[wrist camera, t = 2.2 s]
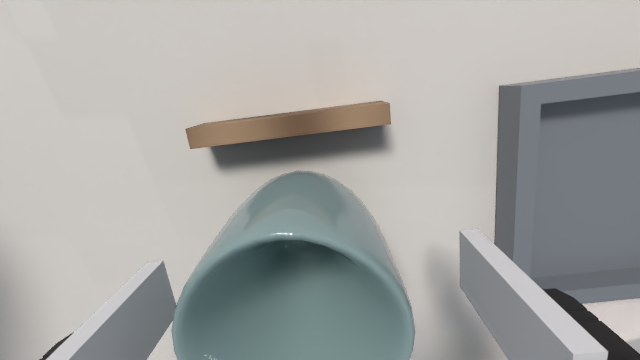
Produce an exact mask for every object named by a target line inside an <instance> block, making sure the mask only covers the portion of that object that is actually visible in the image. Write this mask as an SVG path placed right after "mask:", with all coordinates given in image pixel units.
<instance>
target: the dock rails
mask: <svg viewBox="0 0 640 360" xmlns="http://www.w3.org/2000/svg"><path fill="white" fill-rule="evenodd" d="M388 124H391V118H390V103H387V102H383V101H376V102H368V103H360V104H352V105H345V106H337V107H329V108H321V109H313V110H305V111H297V112H289V113H282V114H274V115H266V116H258V117H250V118H242V119H234V120H226V121H219V122H211V123H203V124H200V125H197V126H194V127H190V128H187V129H186V133H187V137H188V142H189V146H190V149H195V148H203V147H211V146H219V145H227V144H235V143H243V142H251V141H259V140H267V139H275V138H283V137H291V136H299V135H307V134H315V133H323V132H332V131H340V130H348V129H356V128H364V127H372V126H380V125H388Z"/></svg>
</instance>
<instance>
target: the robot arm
mask: <svg viewBox="0 0 640 360" xmlns="http://www.w3.org/2000/svg"><path fill="white" fill-rule="evenodd" d="M460 287H461V289H462V290H463V292H464V293H465V295H466V296H467V298H468V299H469V301H470V302H471V304H472V305H473V307H474V308H475V310H476V311H477V313H478V314H479V316H480V317H481V319H482V320H483V322H484V324H485V325H486V327H487V328H488V330H489V331H490V333H491V334H492V336H493V337H494V339H495V340H496V342H497V343H498V345H499V346H500V348H501V349H502V351H503V352H504V354H505V355H506V357H507V358H508V360H640V354H639V353H638V352H637V351H635V350H634V349H633V348H632V347H631V346H630V345H628V344H627V343H626V342H625V341H624V340H623V339H621V338H620V337H619V336H618V335H617V334H616V333H614V332H613V331H612V330H611V329H610V328H609V327H607V326H606V325H605V324H604V323H603V322H602V321H599V320H598V318H597V317H596V316H595V315H593V314H592V313H591V312H590V311H587V309H586V308H585V307H584V306H583V305H582V304H581V303H579V302H578V301H577V300H576V299H575V298H574V297H572V296H570V295H568V294H566V293H564V292H562V291H560V290H558V289H556V288H551V289H541V288H540V287H539V286H538V285H537V284H536V283H535V282H534V281H533V280H532V279H531V278H530V277H529V276H527V275H526V274H525V273H524V272H523V271H522V270H521V269H520V268H519V267H518V266H517V265H516V264H515V263H514V262H513V261H512V260H511V259H509V258H508V257H507V256H506V255H505V254H504V253H503V252H502V251H501V250H500V249H499V248H498V247H497V246H496V245H495V244H494V243H492V242H491V241H490V240H489V239H488V238H487V237H486V236H485V235H484V234H483V233H482V232H481V231H480V230H479V229H471V230H461V231H460ZM175 309H176V303H175V300H174V296H173V293H172V289H171V286H170V282H169V279H168V275H167V272H166V268H165V265H164V261H154V262H147V263H146V264H145V265H144V266H143V267H141V268H140V269H139V270H138V271H137V272H136V273H135V274H134V275H133V276H132V277H131V278H130V279H129V280H128V281H127V282H126V283H125V284H124V285H123V286H122V287H121V288H120V289H119V290H118V291H117V292H115V293H114V294H113V295H112V296H111V297H110V298H109V299H108V300H107V301H106V302H105V303H104V304H103V305H102V306H101V307H100V308H99V309H98V310H97V311H96V312H95V313H94V314H93V315H92V316H91V317H89V318H88V319H87V320H86V321H85V322H84V323H83V324H82V325H81V326H80V327H79V328H78V329H77V330H76V331H75V332H73V333H72V334H70V335H69V336H67V337H66V338H64V339H63V340H61V341H60V342H58V343H57V344H55V345H54V346H53V347H52V348H51V349H50V350H49V351H48V352H47V353H46V354H45V355H44V356H43V358H42V359H40V360H146V359H147V358H148V357H149V355H150V354H151V352H152V351H153V349H154V348H155V346H156V345H157V343H158V342H159V340H160V339H161V337H162V336H163V334H164V333H165V331H166V330H167V328H168V327H169V325H170V324H171V322H172V321H173V319H174V312H175Z"/></svg>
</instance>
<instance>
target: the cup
mask: <svg viewBox="0 0 640 360" xmlns="http://www.w3.org/2000/svg"><path fill="white" fill-rule="evenodd" d="M414 336H415V326H414V320H413V313H412V307H411V303H410V300H409V297H408V294H407V291H406V289H405V286H404V284H403V281H402V279H401V276H400V274H399V271H398V269H397V267H396V264H395V262H394V260H393V257H392V255H391V253H390V250H389V248H388V246H387V244H386V241H385V239H384V237H383V235H382V233H381V230H380V228H379V226H378V225H377V223H376V221H375V219H374V218H373V216H372V215H371V213H370V212H369V210H368V209H367V208H366V206H365V205H364V203H363V202H362V201H361V200H360V199H359V198H358V197H357V196H356V195H355V194H354V193H353V192H352V191H351V190H350V189H349V188H347V187H346V186H344V185H343V184H341V183H340V182H339V181H337V180H336V179H333V178H331V177H329V176H327V175H325V174H321V173H317V172H313V171H294V172H289V173H285V174H282V175H280V176H278V177H275V178H273V179H271V180H269V181H268V182H266V183H265V184H264V185H262V186H261V187H259V188H258V189H257V190H255V191H254V192H253V193H252V194H251V195H250V196H249V197H248V198H247V199H246V200H245V201H244V202H243V203H242V204H241V205H240V206H239V207H238V209H237V210H236V211H235V212H234V213H233V215H232V216H231V217H230V218H229V220H228V221H227V222H226V224H225V225H224V227H223V228H222V229H221V231H220V232H219V234H218V235H217V236H216V238H215V239H214V241H213V242H212V244H211V245H210V247H209V248H208V250H207V251H206V253H205V254H204V256H203V257H202V259H201V260H200V262H199V263H198V265H197V266H196V268H195V269H194V270H193V272H192V274H191V275H190V277H189V278H188V280H187V282H186V284H185V286H184V288H183V291H182V293H181V296H180V298H179V301H178V303H177V306H176V309H175V312H174V319H173V325H172V337H173V346H174V351H175V354H176V357H177V359H178V360H409V358H410V356H411V353H412V351H413V344H414Z"/></svg>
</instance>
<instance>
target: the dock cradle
mask: <svg viewBox="0 0 640 360" xmlns="http://www.w3.org/2000/svg"><path fill="white" fill-rule="evenodd" d="M495 245H496V246H497V247H498V248H499V249H500V250H501V251H502V252H503V253H504V254H505V255H506V256H507V257H508V258H509V259H511V260H512V261H513V262H514V263H515V264H516V265H517V266H518V267H519V268H520V269H521V270H522V271H523V272H524V273H525V274H526V275H527V276H529V277H530V278H531V279H532V280H533V281H534V282H535V283H536V284H537V285H538V286H539V287H540V288H541V289H551V288H556V289H558V290H560V291H562V292H564V293H566V294H568V295H570V296H572V297H574V298H575V299H576V300H577V301H578V302H579V303H581V304H584V303H594V302H604V301H614V300H624V299H634V298H640V68H636V69H628V70H620V71H612V72H604V73H597V74H589V75H581V76H573V77H565V78H557V79H549V80H541V81H534V82H526V83H518V84H510V85H502V86H499V120H498V154H497V188H496V222H495Z"/></svg>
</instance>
